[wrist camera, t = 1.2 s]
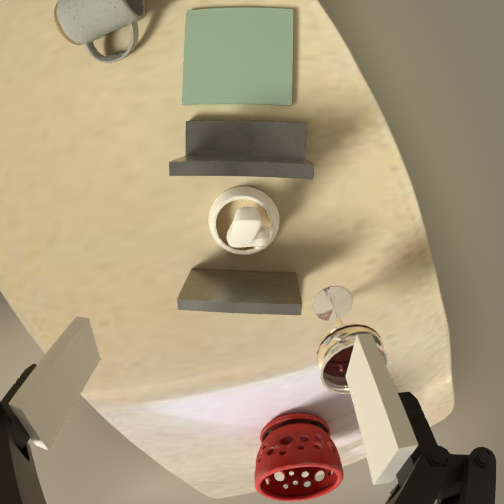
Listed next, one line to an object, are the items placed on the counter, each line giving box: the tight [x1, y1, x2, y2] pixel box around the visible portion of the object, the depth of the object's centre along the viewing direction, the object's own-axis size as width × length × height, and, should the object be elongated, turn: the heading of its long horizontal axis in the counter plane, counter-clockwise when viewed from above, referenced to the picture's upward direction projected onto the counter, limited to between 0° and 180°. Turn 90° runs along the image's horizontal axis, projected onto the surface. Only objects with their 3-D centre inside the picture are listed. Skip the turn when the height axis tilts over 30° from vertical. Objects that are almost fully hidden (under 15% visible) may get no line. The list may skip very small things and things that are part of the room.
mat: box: [182, 7, 293, 106], centre depth 27 cm, size 11×11×1 cm
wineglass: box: [313, 286, 389, 394], centre depth 32 cm, size 7×7×12 cm
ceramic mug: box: [54, 0, 145, 63], centre depth 23 cm, size 11×8×8 cm
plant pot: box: [255, 413, 343, 501], centre depth 42 cm, size 13×13×12 cm
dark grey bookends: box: [169, 121, 314, 315], centre depth 31 cm, size 21×12×7 cm, turn 179°
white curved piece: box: [209, 187, 279, 255], centre depth 31 cm, size 8×12×7 cm
